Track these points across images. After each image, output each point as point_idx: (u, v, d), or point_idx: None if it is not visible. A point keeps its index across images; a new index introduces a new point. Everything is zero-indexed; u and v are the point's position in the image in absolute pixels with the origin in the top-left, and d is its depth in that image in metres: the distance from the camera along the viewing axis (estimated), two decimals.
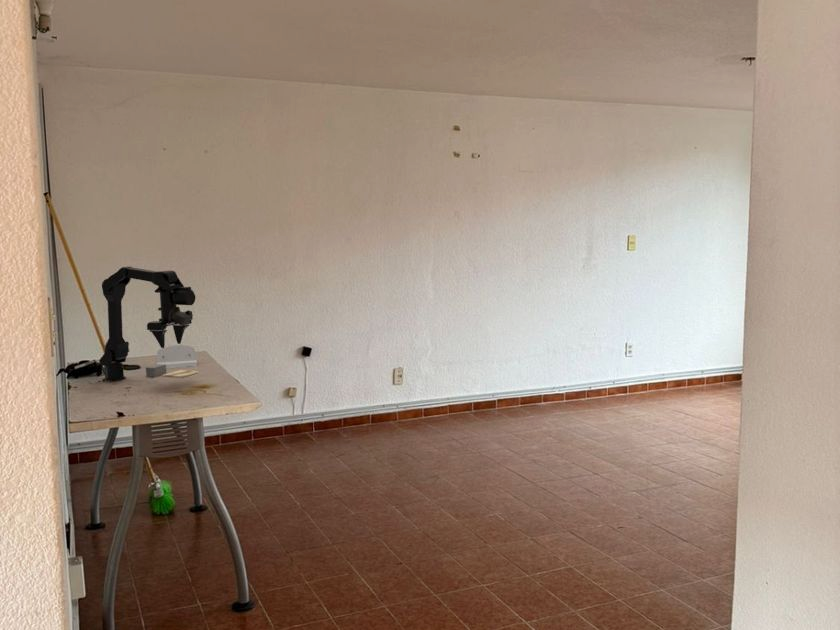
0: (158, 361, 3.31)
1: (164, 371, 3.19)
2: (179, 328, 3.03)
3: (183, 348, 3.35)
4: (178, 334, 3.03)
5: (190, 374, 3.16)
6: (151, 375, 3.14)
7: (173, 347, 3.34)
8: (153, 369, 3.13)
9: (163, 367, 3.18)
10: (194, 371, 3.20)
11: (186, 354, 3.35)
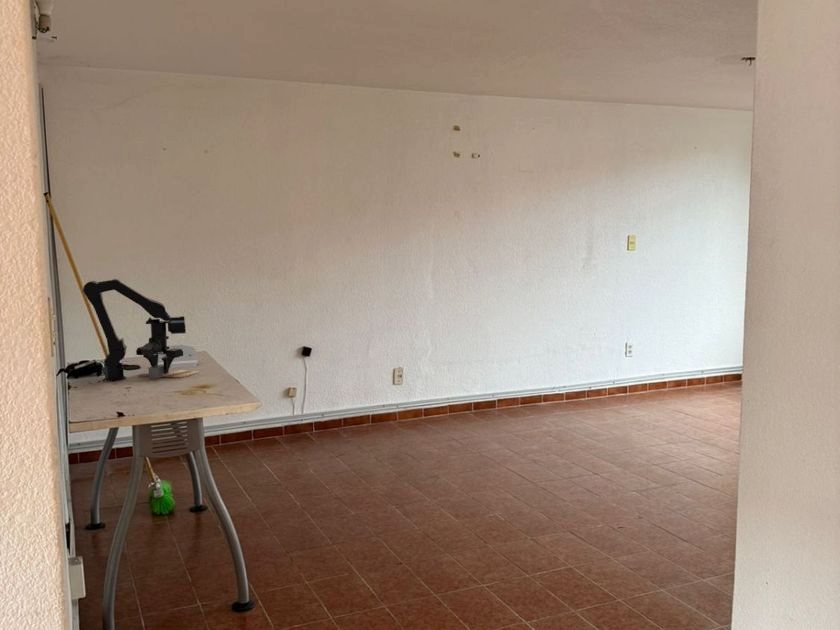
0: (159, 361, 3.32)
1: None
2: None
3: (184, 348, 3.36)
4: None
5: (190, 374, 3.16)
6: (154, 375, 3.13)
7: (174, 347, 3.35)
8: (156, 369, 3.12)
9: None
10: (194, 371, 3.20)
11: (187, 354, 3.35)
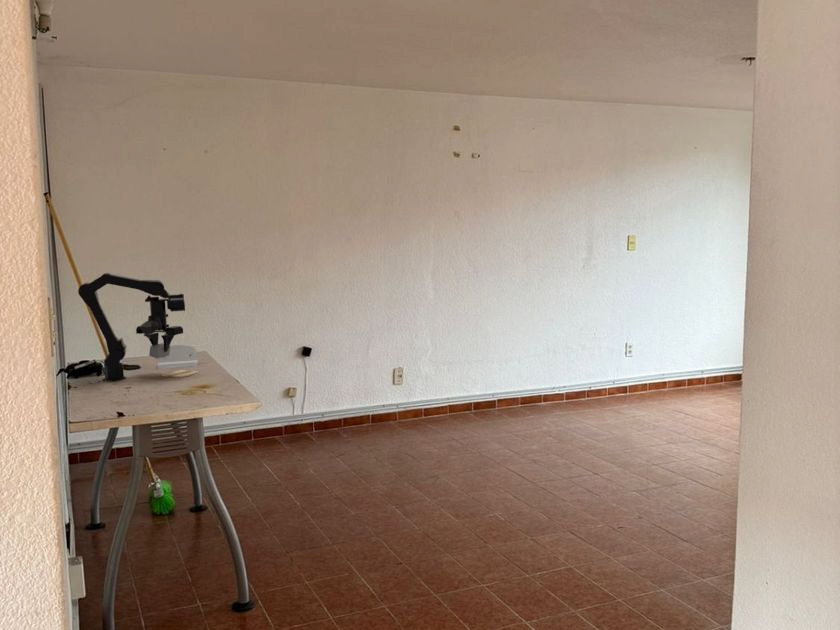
0: (159, 361, 3.32)
1: (167, 352, 3.17)
2: None
3: (184, 348, 3.36)
4: None
5: (190, 374, 3.16)
6: (154, 354, 3.12)
7: (174, 347, 3.35)
8: (157, 350, 3.11)
9: None
10: (194, 371, 3.20)
11: (187, 354, 3.35)
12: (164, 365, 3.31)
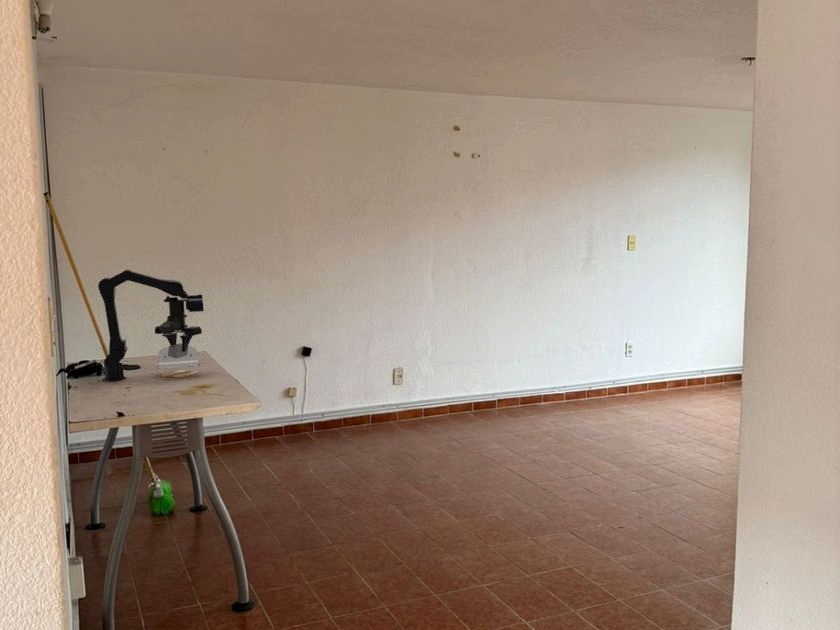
0: (160, 361, 3.32)
1: (186, 352, 3.18)
2: None
3: None
4: None
5: (190, 374, 3.16)
6: (173, 354, 3.13)
7: None
8: (176, 350, 3.12)
9: None
10: (194, 371, 3.20)
11: (188, 354, 3.35)
12: (164, 365, 3.31)
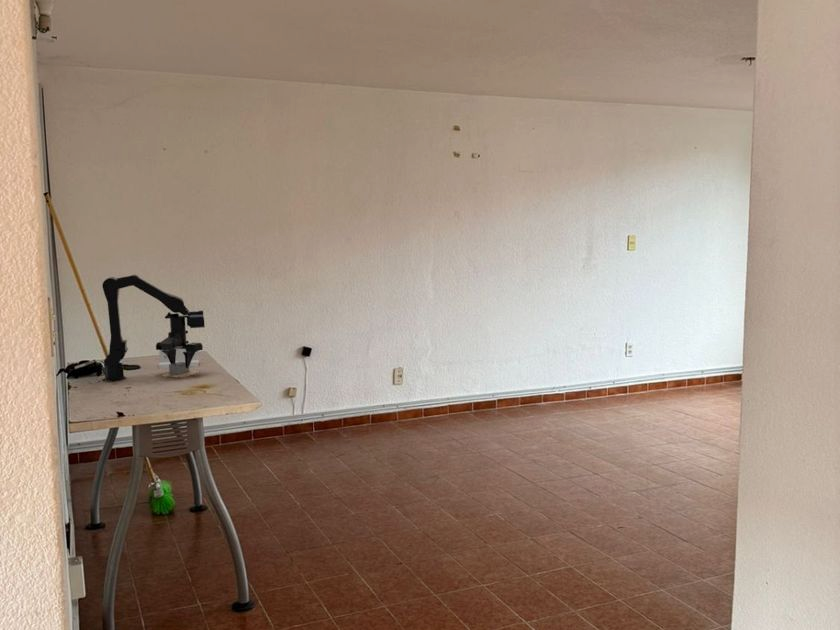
0: (160, 361, 3.32)
1: (187, 368, 3.19)
2: None
3: None
4: None
5: (190, 374, 3.16)
6: (174, 372, 3.14)
7: None
8: (176, 366, 3.13)
9: None
10: (194, 371, 3.20)
11: None
12: (165, 365, 3.31)
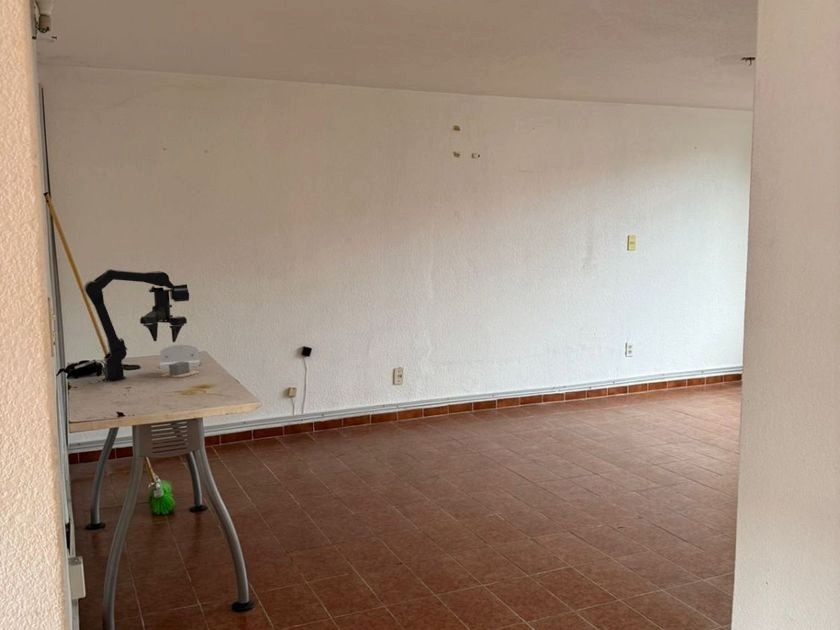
0: (161, 361, 3.32)
1: (187, 368, 3.19)
2: None
3: (186, 348, 3.36)
4: None
5: (190, 374, 3.16)
6: (174, 372, 3.14)
7: (176, 347, 3.35)
8: (176, 366, 3.13)
9: (186, 364, 3.18)
10: (194, 371, 3.20)
11: (189, 354, 3.35)
12: (165, 365, 3.31)
